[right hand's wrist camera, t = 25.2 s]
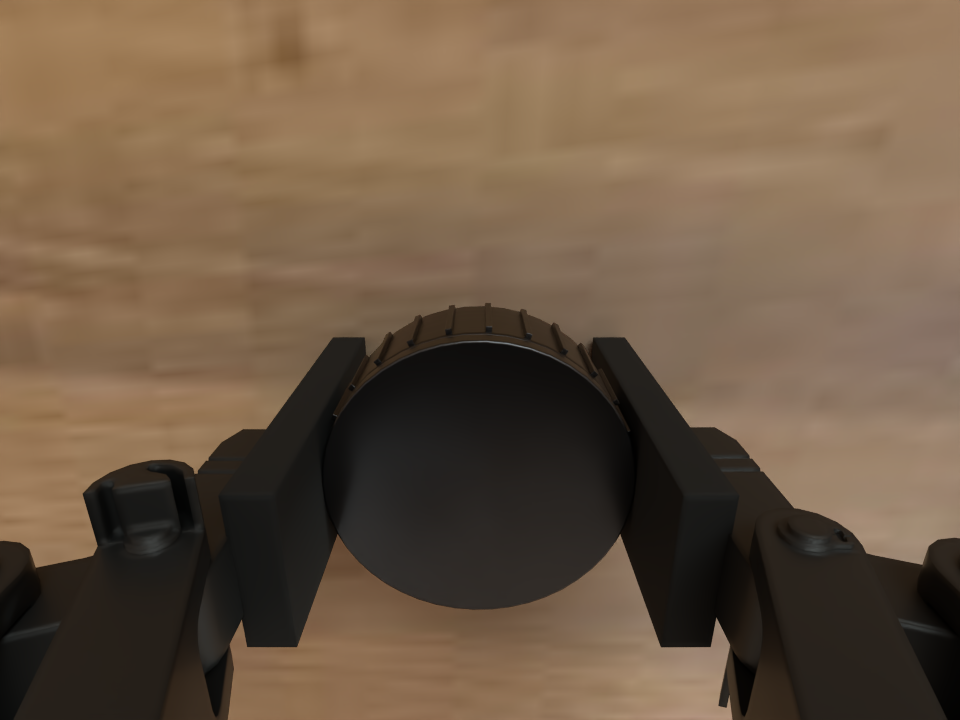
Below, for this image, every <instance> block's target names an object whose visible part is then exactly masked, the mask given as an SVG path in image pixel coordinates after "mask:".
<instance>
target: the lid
mask: <svg viewBox="0 0 960 720" xmlns="http://www.w3.org/2000/svg"><path fill="white" fill-rule="evenodd" d="M618 404H620V403H619V401H618V399H617V397H616V395H615V393H614V391H613V389H612V387H611V386H610V384H609V382H608V380H607V378H606V376H605V374H604V372H603V370H602V369H599V370H597V369H596V367H595V365H594V363H593V362H592V361H591V359H590V357H589V355H588V352H587V350H586V348H585V346H584V345H583V344H582V343H580V344H579V345H577V344H576V343H575V342H574V341H573V340H572V339H571V338H569V337H568V336H567V335H565V334H564V333H562V332H561V331H560V328H559V326H558V325H557V324H556V323H553V324H552V325H550V324H548V323H546V322H544V321H542V320H540V319H538V318H535V317H533V316H530V315H527V312H526V310H523V309H521V310H520V312H517V311H513V310H509V309H504V308H496V307H491V303H485V306H481V307H462V308H455V305H451V306H449V310H444V311H441V312H437V313H434V314H430V315H428V316H425V317H423V318H422V317H421V315H418V316H416V317H415V319H414V322H412V323H410V324H408V325H407V326H405V327H403V328H402V329H400V330H398V331H397V332H395V333H394V334H393V335H392V333H391V332H389V333H388V334H387V335H386V336H385V338H384V340H383V343H382V344H381V345H380V346H379V347H378V348H377V349H376V350H375V351H374V352H373V354H372V355H371V356H370V357H368V356H367V355H366V356H365V357H364V358H363V360H362V362H361V364H360V366H359V368H358V370H357V372H356V374H355V375H354V377H353V379H352V381H351V382H350V383H349V385H348V387H347V388H346V390H345V392H344V394H343V396H342V398H341V400H340V402H339V404H338V406H337V407H336V409H335V411H334V413H333V415H332V418H331V419H332V420H334V421H335V422H334V424H333V425H332V427H331V430H330V433H329V436H328V439H327V442H326V445H325V449H324V456H323V462H322V486H323V493H324V500H325V503H326V506H327V510H328V513H329V516H330V519H331V521H332V523H333V525H334V527H335V529H336V532H337V533H338V535H339V537H340V538H341V540H342V541H343V543H344V544H345V546H346V547H347V549H348V550H349V551H350V552H351V553H352V554H353V556H354V557H355V558H356V559H357V560H358V561H359V562H360V563H361V564H362V565H363V566H364V567H365V568H366V569H367V570H369V571H370V572H371V573H372V574H373V575H375V576H376V577H378V578H379V579H380V580H382V581H383V582H385V583H386V584H388V585H390V586H391V587H393V588H395V589H397V590H399V591H400V592H402V593H405V594H407V595H409V596H412V597H414V598H417V599H419V600H423V601H426V602H429V603H433V604H436V605H441V606H446V607H452V608H460V609H472V610H479V609H498V608H506V607H513V606H517V605H521V604H526V603H530V602H533V601H535V600H538V599H541V598H544V597H547V596H549V595H551V594H553V593H555V592H558V591H560V590H562V589H564V588H565V587H567V586H568V585H570V584H572V583H573V582H575V581H577V580H578V579H579V578H581V577H582V576H583V575H585V574H586V573H587V572H588V571H590V570H591V569H592V568H593V567H594V566H595V565H596V564H597V563H598V562H599V561H600V560H601V559H602V558H603V557H604V556H605V555H606V554H607V552H608V551H609V550H610V548H611V547H612V546H613V544H614V543H615V542H616V540H617V538H618V537H619V535H620V533H621V531H622V530H623V528H624V526H625V523H626V521H627V518H628V516H629V513H630V511H631V507H632V503H633V498H634V494H635V484H636V464H635V455H634V451H633V446H632V442H631V438H630V436H631V435H632V434H631V430H630V428H629V426H628V424H627V422H626V420H625V418H624V417H623V415H622V413H621V411H620V409H619V407H618Z"/></svg>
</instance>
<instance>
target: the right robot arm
mask: <svg viewBox="0 0 960 720" xmlns="http://www.w3.org/2000/svg"><path fill="white" fill-rule="evenodd" d="M365 356H366V350H365V338H332V340H331V341H330V343H329V344H328V345H327V347H326V348H325V349H324V351H323V352H322V354H321V355H320V356H319V358H318V359H317V360H316V362H315V363H314V364H313V366H312V367H311V369H310V370H309V371H308V373H307V374H306V375H305V377H304V378H303V380H302V381H301V382H300V384H299V385H298V386H297V388H296V389H295V391H294V392H293V393H292V395H291V396H290V397H289V399H288V400H287V402H286V403H285V404H284V406H283V407H282V408H281V410H280V411H279V413H278V414H277V415H276V417H275V418H274V419H273V421H272V422H271V424H270V425H269V426H268V428H267V429H243V430H241V431H240V432H238V433H236V434H235V435H233V436H232V437H230V438H228V439H227V440H225V441H223V442H222V443H221V444H220V445H219V446H218V447H217V449H216V450H215V451H214V452H213V453H212V454H211V456H210V457H209V460H208V461H206V462H205V463H204V464H203V465H202V466H201V467H200V469H199V470H198V474H195V475H194V470H193V468H191V467H190V466H189V465H187V464H186V463H185V462H179V461H174V460H151V461H146V462H142V463H137V464H132V465H129V466H126V467H124V468H121V469H118V470H116V471H113V472H110V473H109V474H107V475H105V476H104V477H102V478H100V479H98V480H97V481H95V482H93V483H92V484H91V486H90V487H89V488H88V489H87V490H86V491H85V492H84V493H83V497H84V500H85V504H86V507H87V510H88V514H89V517H90V521H91V524H92V528H93V531H94V534H95V538H96V541H97V545H98V547H97V549H96V551H95V553H94V555H93V556H90V557H87V558H83V559H78V560H73V561H68V562H63V563H58V564H53V565H48V566H43V567H38V568H36V567H35V564H34V561H33V559H32V556H31V553H30V550H29V549H28V548H27V547H25V546H24V545H23V544H21V543H18V542H9V541H0V720H228V712H229V704H230V696H231V687H232V679H233V671H234V666H233V660H232V654H231V649H230V642H231V640H232V638H233V636H234V634H235V632H236V630H237V628H238V626H239V624H240V622H241V620H242V622H243V627H244V632H245V638H246V643H247V647H297V646H298V643H299V640H300V637H301V634H302V632H303V629H304V626H305V623H306V621H307V618H308V615H309V612H310V609H311V607H312V604H313V601H314V598H315V595H316V593H317V590H318V587H319V584H320V582H321V579H322V576H323V573H324V570H325V568H326V565H327V562H328V559H329V556H330V554H331V551H332V548H333V545H334V543H335V540H336V537H337V534H338V533H337V532H336V529H335V527H334V525H333V523H332V521H331V519H330V516H329V513H328V510H327V506H326V503H325V500H324V493H323V486H322V462H323V456H324V449H325V445H326V442H327V439H328V436H329V433H330V430H331V427H332V425H333V424H334V422H335V421H334V420H332V419H331V418H332V415H333V413H334V411H335V409H336V407H337V406H338V404H339V402H340V400H341V398H342V396H343V394H344V392H345V390H346V388H347V387H348V385H349V383H350V382H351V381H352V379H353V377H354V375H355V374H356V372H357V370H358V368H359V366H360V364H361V362H362V360H363V358H364V357H365ZM592 362H593V363H594V365H595V367H596V369H597V370H599V369H602V370H603V372H604V374H605V376H606V378H607V380H608V382H609V384H610V386H611V387H612V389H613V391H614V393H615V395H616V397H617V399H618V401H619V403H620V404H618V407H619V409H620V411H621V413H622V415H623V417H624V418H625V420H626V422H627V424H628V426H629V428H630V430H631V434H632V435H631V436H630V438H631V442H632V446H633V451H634V455H635V464H636V484H635V494H634V498H633V503H632V507H631V511H630V513H629V516H628V518H627V521H626V523H625V526H624V528H623V530H622V531H621V533H620V534H621V537H622V540H623V543H624V546H625V548H626V551H627V554H628V557H629V559H630V562H631V565H632V568H633V571H634V573H635V576H636V579H637V582H638V585H639V587H640V590H641V593H642V596H643V598H644V601H645V604H646V607H647V610H648V612H649V615H650V618H651V621H652V624H653V626H654V629H655V632H656V635H657V637H658V640H659V643H660V646H661V647H711V642H712V637H713V632H714V627H715V621H716V617H717V619H718V621H719V623H720V625H721V627H722V629H723V631H724V633H725V635H726V637H727V639H728V641H729V643H730V649H729V654H728V659H727V663H726V668H725V673H724V678H723V683H722V688H721V692H720V699H719V705H718V706H722V707H726V708H727V703H728V698H729V695H730V703H731V711H732V719H733V720H960V538H949V539H940V540H937V541H936V542H934V543H933V544H931V545H930V546H929V547H928V550H927V553H926V556H925V559H924V562H923V565H920V564H915V563H910V562H905V561H900V560H895V559H890V558H885V557H880V556H875V555H871V554H867V553H866V552H865V550H864V548H863V546H862V544H861V543H860V542H859V541H858V539H857V538H856V537H855V536H854V534H853V533H852V532H850V531H849V530H847V529H846V528H844V527H843V526H842V525H840V524H839V523H837V522H835V521H833V520H831V519H829V518H826V517H824V516H822V515H820V514H817V513H813V512H809V511H805V510H801V509H794V508H793V506H792V505H791V504H790V503H789V502H788V501H787V499H786V498H785V497H784V496H783V495H782V493H781V492H780V491H779V490H778V489H777V488H776V486H775V485H774V484H773V483H772V482H771V481H770V479H769V478H768V477H767V476H766V475H765V473H764V472H760V468H759V466H758V465H757V464H756V463H755V462H754V460H753V459H750V458H749V455H748V453H747V452H746V451H745V450H744V449H743V448H742V446H741V445H740V444H739V443H738V442H737V440H735V439H733V438H732V437H730V436H728V435H727V434H725V433H723V432H722V431H720V430H718V429H717V428H715V427H697V428H690V427H689V425H688V424H687V423H686V421H685V420H684V418H683V417H682V416H681V414H680V413H679V412H678V410H677V409H676V407H675V406H674V405H673V403H672V402H671V401H670V399H669V398H668V396H667V395H666V394H665V392H664V391H663V390H662V388H661V387H660V385H659V384H658V383H657V381H656V380H655V379H654V377H653V376H652V374H651V373H650V372H649V370H648V369H647V368H646V366H645V365H644V363H643V362H642V361H641V359H640V358H639V357H638V355H637V354H636V352H635V351H634V350H633V348H632V347H631V346H630V344H629V343H628V341H627V340H626V339H625V338H593V348H592Z"/></svg>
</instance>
